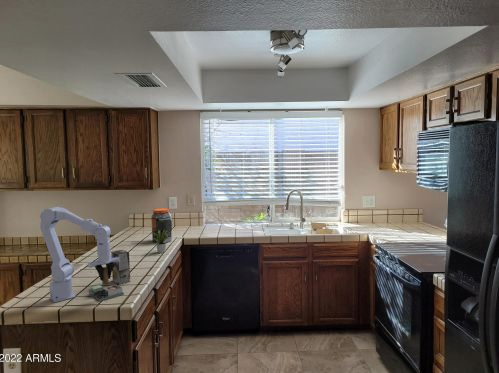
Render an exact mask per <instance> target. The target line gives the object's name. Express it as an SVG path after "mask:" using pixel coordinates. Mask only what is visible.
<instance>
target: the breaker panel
mask: <svg viewBox="0 0 499 373" xmlns="http://www.w3.org/2000/svg"><path fill="white" fill-rule="evenodd" d="M109 288H115V289H112V290H109ZM88 295H89V296H91V297H93V299H95V300H97V301H98V302H102V301H106V300H109V299H112V298H116V297H120V296H123V295H125V293H124V291H123V287H122V286H120V285H118V283H116V284H113V285H109V286H105V287H103V288H102V290H101V291H97V292H93V291H92V288H90V289H88Z"/></svg>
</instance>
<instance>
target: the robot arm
mask: <svg viewBox="0 0 499 373" xmlns="http://www.w3.org/2000/svg"><path fill="white" fill-rule="evenodd" d="M39 218H40V223H39V224H40V226H39V228H40V231H41V233H42V237H43V239H44V242H45V245H46V248H47V250H48V253H49V255H50V258H51V261H52V264H51V266H50V270H51V278H52V279H53V281H50V282H49V299H50V300H51V301H53V303H58V302H60V301H61V302H62V301H65V300H70V299H74V298H76V297H77V295H75V294H74V292H73V278H72V277H73V274H74V272H75V267H74V266H73V265H72V264H71V262H70V260H69V259H68V258H66V257H65V254H64V251H63V248H62V245H61V243H60V241H59V240H60V239H59V237H58V234H57V233H56V229H55V227H56V225H57V224H58V222H59V221H63V220H64V221H67V222H70V223H72V224H74V225H77V226H80V229H81V230H82V231H84V232H85V233H87V234H88V233H89V234H90V235H93V236H94V238H95V239H96V250H97V252H96V253H97V260H94V261H92V262H88V263H87V265H88V266H87V267H88V268H89V269H92V268H95V270H96V271H97V274H98V276H99V280H100V281H101V282H102V281H103V267H104V265H105V267H108V279H109V280H111V277H112V270H113V268H114V266H115V264H114V262H120V258H119V257H116V258H111V243H110V242H111V241H110V240H111V238H110V236H111V235H112V234H111V233H112V229H111V227H110V226H108V224H107V225H106V224H104V225H103V224H102V223H98V222H96V221H94V219H93V218H86V219H84V218H82V217H80V216H78V215H77V214H75V213H73V212H71V211H70V210H68V209H67V208H64V207H62V206H58V205H57V206H54V207H50V208H49V207H48V208H45V209H43V210H42V212H41V213H40V215H39Z"/></svg>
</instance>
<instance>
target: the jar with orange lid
mask: <svg viewBox="0 0 499 373" xmlns="http://www.w3.org/2000/svg"><path fill="white" fill-rule="evenodd" d="M152 211H153V212H152V214H151V217H150V218H151V233H152V234H151V235H152V236H151V237H152V238H156V239H157V240H158V238H157V236H156V235H155V234H158V233H157V232H158V231H159V232H161V235H162V233H163V231H164V230H165V231H164V233H165V232H166V231H167V232H166V234H165V235H164V236H166V235H168V236H166V237H167V238H168V237H169V238H170V239H167V238H166V237H165V239H167V240H165V241H164V242H165V243H169V242H171V241H172V240H173V221H172V220H173V219H172V214H171V213H170V209H169V208H156V209H155V208H154V209H153V210H152ZM169 232H170V234H168V233H169ZM154 233H155V234H154ZM171 234H172V235H171ZM152 238H151V239H152ZM156 239H152V242H154V243H155V244H156V243H159V242H158V241H157V242H156Z"/></svg>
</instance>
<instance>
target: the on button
mask: <svg viewBox="0 0 499 373" xmlns="http://www.w3.org/2000/svg"><path fill="white" fill-rule="evenodd" d="M102 288H104V287H103V285H100V284H98V285H94V286H91V289H92V291H93V292H97V291H101V290H102Z"/></svg>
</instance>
